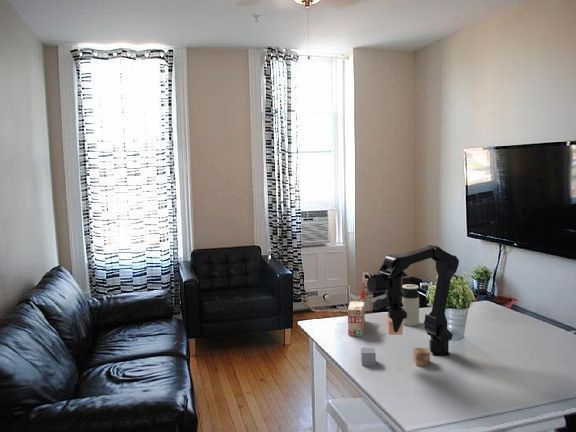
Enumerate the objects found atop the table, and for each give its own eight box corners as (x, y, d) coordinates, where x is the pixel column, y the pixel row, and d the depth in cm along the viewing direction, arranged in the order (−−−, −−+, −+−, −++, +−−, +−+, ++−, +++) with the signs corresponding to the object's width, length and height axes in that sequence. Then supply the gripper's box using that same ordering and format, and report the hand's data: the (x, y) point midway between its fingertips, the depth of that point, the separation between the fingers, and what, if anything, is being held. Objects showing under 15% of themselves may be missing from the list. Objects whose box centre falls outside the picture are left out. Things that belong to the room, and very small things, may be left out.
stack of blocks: (351, 320, 232) (351, 295, 230) (365, 321, 230) (364, 296, 229) (348, 336, 211) (347, 308, 210) (362, 336, 209) (362, 309, 208)
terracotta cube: (400, 330, 182) (400, 317, 181) (402, 334, 177) (402, 321, 176) (387, 330, 182) (386, 317, 182) (388, 334, 177) (388, 321, 177)
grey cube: (374, 360, 184) (374, 347, 183) (375, 365, 179) (375, 353, 178) (361, 360, 184) (360, 348, 184) (362, 365, 179) (362, 353, 179)
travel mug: (422, 324, 222) (422, 287, 220) (408, 327, 219) (408, 289, 217) (412, 319, 230) (412, 283, 228) (398, 322, 227) (398, 285, 225)
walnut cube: (427, 360, 182) (427, 347, 182) (429, 365, 177) (430, 353, 177) (413, 360, 183) (413, 347, 182) (416, 365, 178) (416, 353, 177)
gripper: (370, 283, 188) (370, 321, 189) (375, 296, 169) (375, 338, 171) (398, 282, 187) (398, 321, 188) (407, 295, 168) (407, 338, 170)
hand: (394, 329), depth 179 cm, fingers closed on terracotta cube, 5 cm apart
